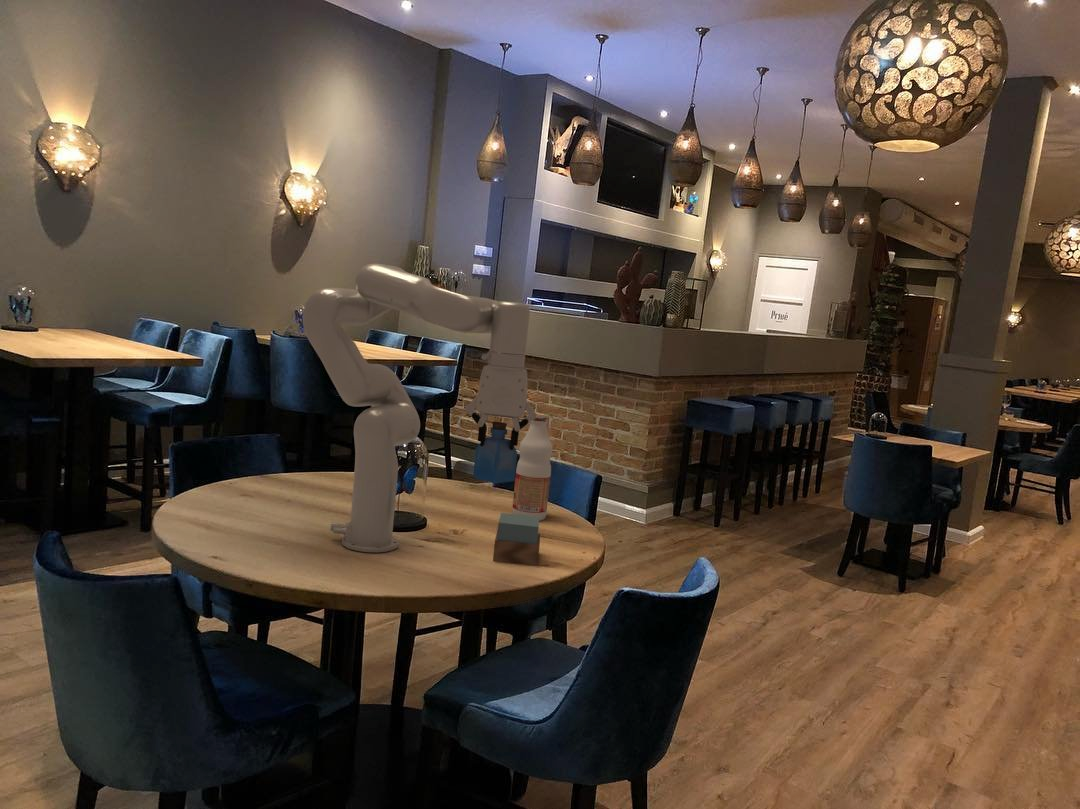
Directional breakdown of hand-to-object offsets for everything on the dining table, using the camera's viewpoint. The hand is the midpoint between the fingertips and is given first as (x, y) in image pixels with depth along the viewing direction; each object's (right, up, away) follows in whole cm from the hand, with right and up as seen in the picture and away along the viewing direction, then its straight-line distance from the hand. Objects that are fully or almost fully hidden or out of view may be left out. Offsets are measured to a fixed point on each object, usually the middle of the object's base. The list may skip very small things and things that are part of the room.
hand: (497, 446), depth 179 cm
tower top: (+4, -22, +16) cm, 27 cm away
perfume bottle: (-1, -7, +1) cm, 7 cm away
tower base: (+3, -26, +16) cm, 31 cm away
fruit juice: (+6, -22, +54) cm, 59 cm away
